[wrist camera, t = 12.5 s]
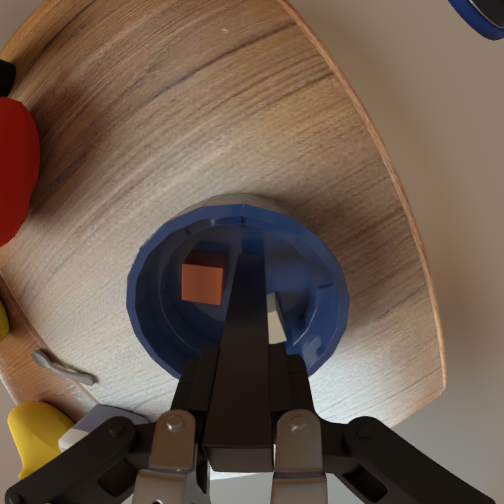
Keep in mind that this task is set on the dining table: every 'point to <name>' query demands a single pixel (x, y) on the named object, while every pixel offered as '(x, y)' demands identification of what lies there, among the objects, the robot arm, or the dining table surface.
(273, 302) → the block
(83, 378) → the spoon
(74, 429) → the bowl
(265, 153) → the dining table surface
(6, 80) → the cup
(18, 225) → the tomato
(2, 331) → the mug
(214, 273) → the block
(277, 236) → the bowl
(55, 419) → the vase
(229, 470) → the stick
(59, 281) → the dining table surface
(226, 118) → the dining table surface
